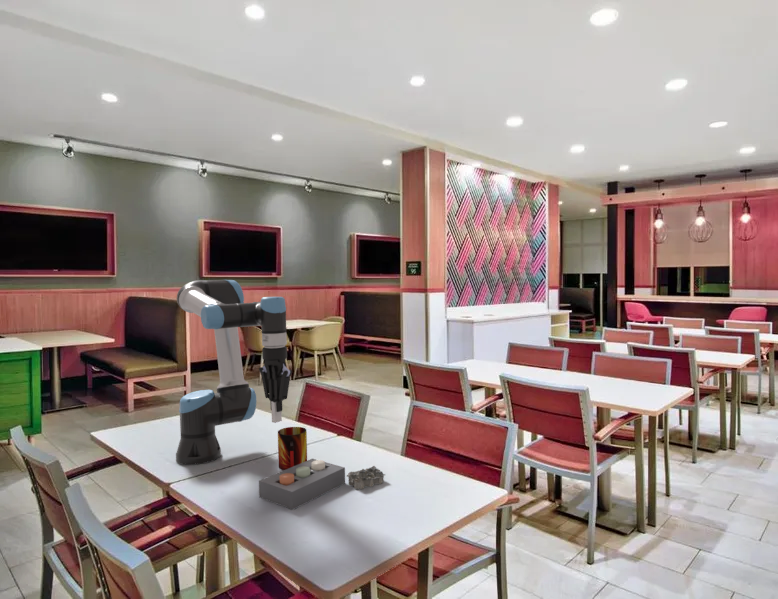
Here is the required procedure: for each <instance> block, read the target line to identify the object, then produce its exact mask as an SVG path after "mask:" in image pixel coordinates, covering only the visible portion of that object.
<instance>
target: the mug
mask: <svg viewBox="0 0 778 599" xmlns="http://www.w3.org/2000/svg"><path fill="white" fill-rule="evenodd" d="M307 435H308V433H307V428H305V427H303V426H288V427H287V426H286V427H284V428H281V429H279V430H277V450H278V451H277V452H278V454H277V456H278V460H277V462H278V468H279V470H281V471H284V470H286V469H288V468H291V467H293V466H296V465H298V464H301V463H303V462H305V461H308V440H307V439H308V438H307Z"/></svg>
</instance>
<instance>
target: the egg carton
mask: <svg viewBox="0 0 778 599" xmlns="http://www.w3.org/2000/svg"><path fill="white" fill-rule="evenodd" d="M385 476H386V473H384V472H383V471H381V469H379V468H377V467H376V466H375V465H372V466H371V467H369V468H365V469H364V468H362V469H361V470H357V471H349V472H348V474H346V477H348V485H349V486H351V487H352V486H353V488H354V489H355V490H364V489H365V488H366V487H370V488H371V487H374V485H376V484H377V485H382V484H383V482H384V479H385V478H384V477H385Z"/></svg>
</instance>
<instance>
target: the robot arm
mask: <svg viewBox="0 0 778 599" xmlns="http://www.w3.org/2000/svg"><path fill="white" fill-rule="evenodd" d="M176 303H177V305H178V306H179V308H180V309H182V310H183V311H184V312H187V313H190V314H194V315H196V316H198V317H200V321H201V324H202V326H203V328H204V329H206V330H213V331H214V332H213V333H214V338H215V339H214V340H215V346H216V347H215V348H216V349H215V350H216V356H217V364H218V366H217V367H218V373H219V375H218V376H219V384H218V385H217V387H216V392H214V390H213V389H204V390H203V389H201V390H196V391H195V390H194V391H192V392H189V393H187V394H184V395H183V396H182V397H180V400H179V410H178V412H179V426H180V429H179V430H180V440H179V442H178V447H177V450H176V453H175V461H176V462H177V463H178V464H181V465H185V466H186V465H188V466H190V465H191V466H192V465H193V466H194V465H200V464H207V463H211V462H213V461H215V460H218V459H219V458H220V457H221V456H222V448H221V445H220V443H219V440H218V438H217V434H216V427H217V426H221V425H226V424H233V423H238V422H239V423H240V422H243V421H248V420H250V419H252V418H253V416H254V415H255V412H256V408H257V394H256V391H255V389H254V388H253V387H250V385H249V382H248V381H246V379H245V378H244V369H243V361H242V351H241V344H240V336H239V328H243V327H257V326H261V338H262V339H261V345H262V346H263V347H262V348H261V350H262V351H261V352H262V356H261V358H262V360H264V363H263V364H264V365H263V366H262V367H259V368H258V371H259V373H260V375H261V380H262V382H261V383H262V386H263V392H264V397H265V399H269V401H270V403H269V404H270V411H271V423H274V424H276V423H279V422H282V421H283V418H282V417H283V415H282V412H283V401H284V400H287V399H288V396H289V395H288V394H289V387H290V379H291V376H292V373H293V370H292V369H289V368H288V367H287V362H286V359H287V358H288V348H287V343H288V342H287V340H288V338H287V307H286V298H284V297H283V296H263V297H261V299H260V301H253V302H245V295H244V292H243V288H242V286H241V285H240V284H239V282H238V281H236V280H233V279H213V280H212V279H209V280H207V279H206V280H201V279H200V280H193V281H190V282H187V283H186V284H183V286H182V287H180V288H179V290H178V291H177V294H176Z"/></svg>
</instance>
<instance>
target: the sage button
mask: <svg viewBox="0 0 778 599" xmlns="http://www.w3.org/2000/svg"><path fill="white" fill-rule="evenodd" d="M296 476H297V477H300V478H305V477H307V476H310V468H309V467H306V466H303V467H298V468H297V469H296Z"/></svg>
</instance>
